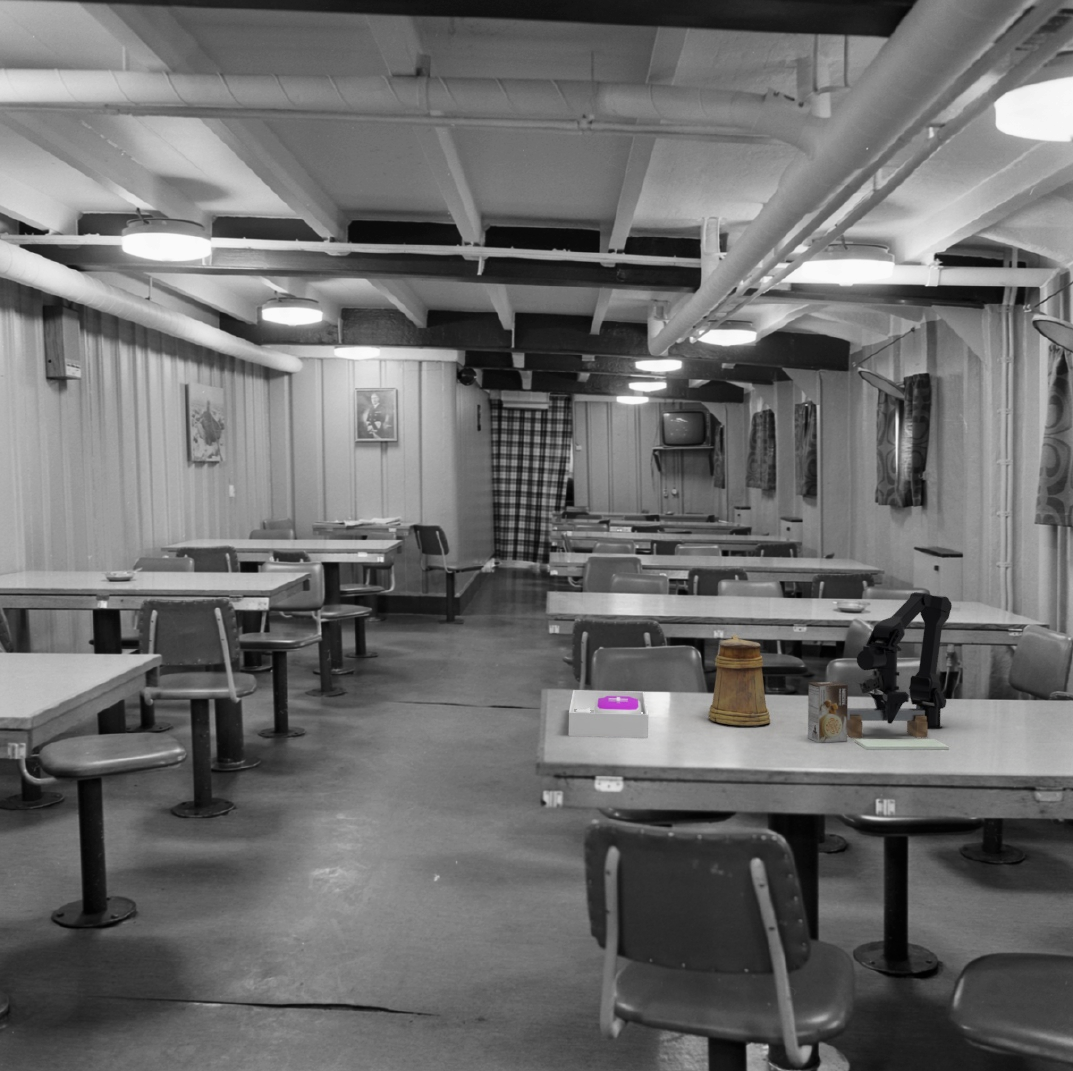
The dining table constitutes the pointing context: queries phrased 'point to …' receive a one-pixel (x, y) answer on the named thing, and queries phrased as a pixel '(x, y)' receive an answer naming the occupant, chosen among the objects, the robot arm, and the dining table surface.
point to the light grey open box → (608, 714)
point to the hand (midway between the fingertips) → (885, 720)
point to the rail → (881, 715)
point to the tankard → (739, 685)
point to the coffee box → (827, 711)
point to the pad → (901, 744)
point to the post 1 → (854, 727)
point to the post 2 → (918, 726)
